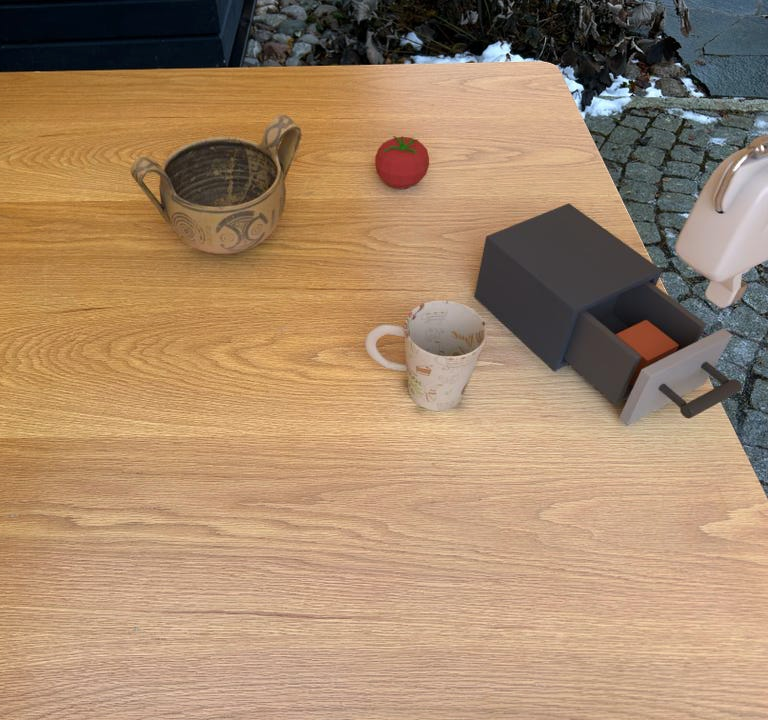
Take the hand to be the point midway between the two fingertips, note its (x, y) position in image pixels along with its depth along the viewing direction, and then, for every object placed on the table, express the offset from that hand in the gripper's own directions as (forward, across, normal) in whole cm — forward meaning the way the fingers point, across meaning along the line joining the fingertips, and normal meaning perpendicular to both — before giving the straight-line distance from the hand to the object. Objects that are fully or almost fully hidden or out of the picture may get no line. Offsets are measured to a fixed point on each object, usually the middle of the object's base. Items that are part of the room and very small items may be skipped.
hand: (767, 277), depth 54 cm
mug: (+27, -13, +23) cm, 38 cm away
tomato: (+27, +8, +57) cm, 64 cm away
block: (+25, +8, +12) cm, 29 cm away
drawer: (+26, +8, +11) cm, 30 cm away
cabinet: (+27, +8, +24) cm, 37 cm away
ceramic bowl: (+26, -20, +58) cm, 67 cm away
